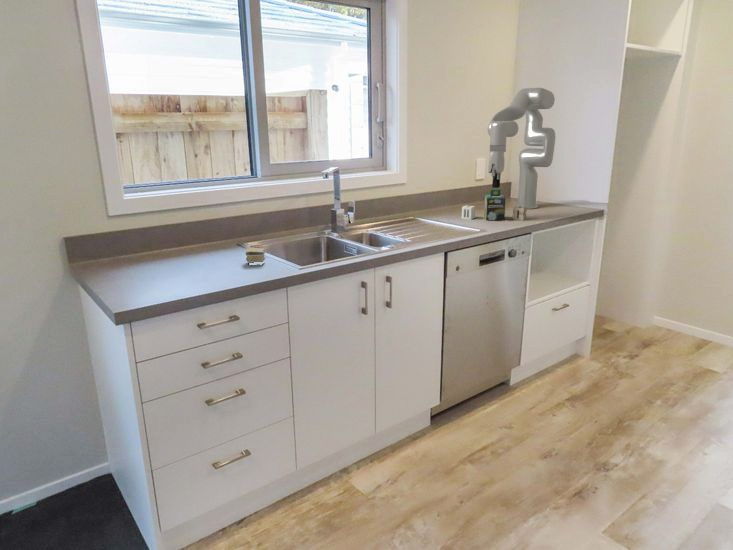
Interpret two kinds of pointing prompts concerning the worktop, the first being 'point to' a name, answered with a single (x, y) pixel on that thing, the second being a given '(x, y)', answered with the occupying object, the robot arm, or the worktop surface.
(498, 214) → the green boxy container
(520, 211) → the birch block
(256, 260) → the stacked layers on plate
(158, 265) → the worktop surface
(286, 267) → the worktop surface
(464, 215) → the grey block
